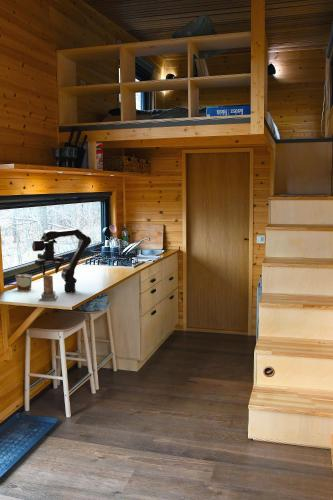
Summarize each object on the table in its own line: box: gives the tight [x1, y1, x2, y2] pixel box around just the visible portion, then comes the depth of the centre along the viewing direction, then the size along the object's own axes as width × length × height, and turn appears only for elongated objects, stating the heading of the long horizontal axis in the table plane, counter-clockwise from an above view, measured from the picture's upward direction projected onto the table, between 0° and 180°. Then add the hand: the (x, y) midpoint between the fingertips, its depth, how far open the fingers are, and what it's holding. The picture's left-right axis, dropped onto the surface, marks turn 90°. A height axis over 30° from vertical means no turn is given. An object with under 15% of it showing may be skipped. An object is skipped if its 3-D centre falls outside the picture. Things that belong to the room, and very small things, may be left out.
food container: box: [14, 273, 33, 292], centre depth 330 cm, size 12×6×10 cm, turn 71°
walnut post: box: [42, 274, 54, 294], centre depth 304 cm, size 4×4×13 cm
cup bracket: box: [38, 290, 59, 302], centre depth 305 cm, size 10×10×4 cm
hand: (50, 274), depth 315 cm, fingers open, 9 cm apart
